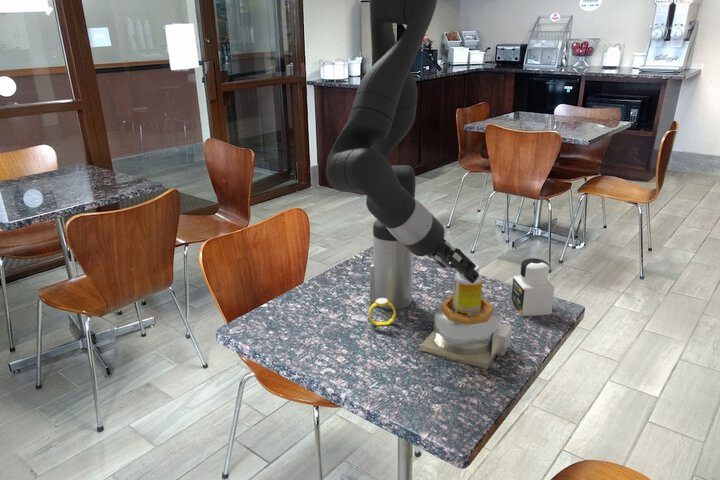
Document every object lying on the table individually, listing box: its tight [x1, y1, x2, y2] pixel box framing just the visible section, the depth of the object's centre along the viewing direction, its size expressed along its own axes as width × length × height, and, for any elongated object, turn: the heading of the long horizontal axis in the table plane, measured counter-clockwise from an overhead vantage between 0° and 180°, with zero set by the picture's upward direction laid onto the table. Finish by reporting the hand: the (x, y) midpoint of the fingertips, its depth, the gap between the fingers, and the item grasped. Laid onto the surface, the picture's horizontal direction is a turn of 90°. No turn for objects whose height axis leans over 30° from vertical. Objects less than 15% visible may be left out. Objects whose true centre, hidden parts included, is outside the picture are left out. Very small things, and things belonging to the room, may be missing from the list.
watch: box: [368, 298, 397, 327], centre depth 122 cm, size 6×3×6 cm, turn 95°
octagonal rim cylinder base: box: [420, 296, 513, 370], centre depth 113 cm, size 16×14×9 cm
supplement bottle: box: [452, 263, 483, 316], centre depth 110 cm, size 6×6×10 cm
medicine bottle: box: [510, 257, 555, 317], centre depth 126 cm, size 7×7×12 cm
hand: (460, 271), depth 107 cm, fingers open, 8 cm apart
